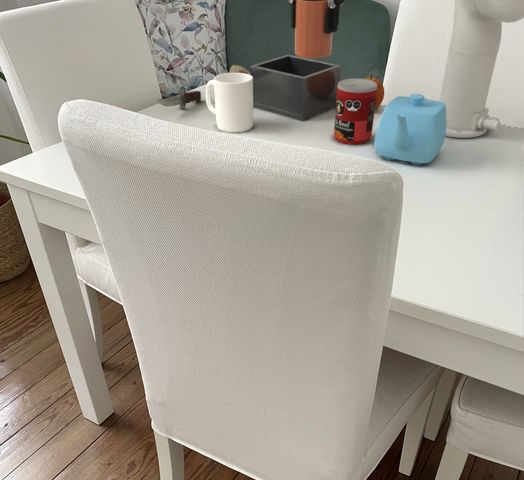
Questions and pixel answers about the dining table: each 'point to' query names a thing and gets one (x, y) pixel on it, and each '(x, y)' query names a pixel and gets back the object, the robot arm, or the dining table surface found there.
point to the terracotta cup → (311, 29)
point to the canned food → (355, 111)
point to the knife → (181, 98)
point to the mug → (238, 69)
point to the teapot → (411, 129)
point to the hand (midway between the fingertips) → (313, 28)
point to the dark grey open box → (295, 86)
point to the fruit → (378, 91)
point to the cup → (232, 101)
